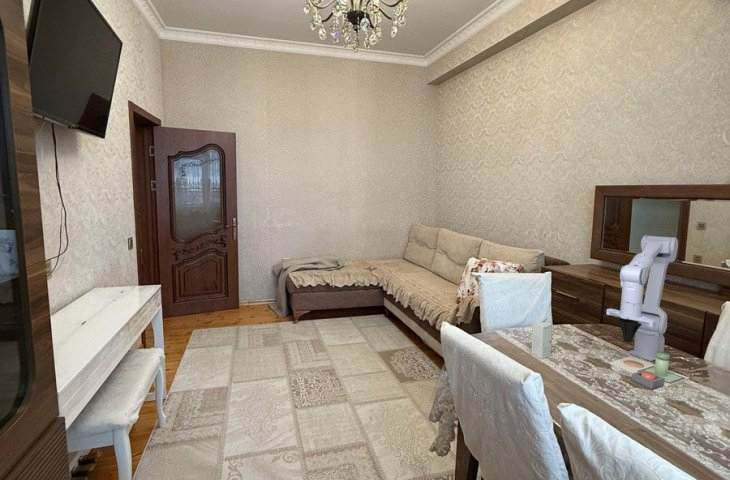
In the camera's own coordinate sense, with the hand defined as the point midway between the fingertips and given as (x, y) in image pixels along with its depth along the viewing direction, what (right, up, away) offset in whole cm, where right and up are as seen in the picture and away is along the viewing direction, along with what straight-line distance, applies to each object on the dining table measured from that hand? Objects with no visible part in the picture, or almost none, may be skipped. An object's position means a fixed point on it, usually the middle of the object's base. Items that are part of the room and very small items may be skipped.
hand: (628, 341), depth 128 cm
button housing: (+1, -11, -7) cm, 13 cm away
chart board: (+7, -10, +1) cm, 13 cm away
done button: (+1, -11, -7) cm, 13 cm away
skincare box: (-23, -9, +14) cm, 28 cm away
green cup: (+9, -10, -3) cm, 14 cm away
